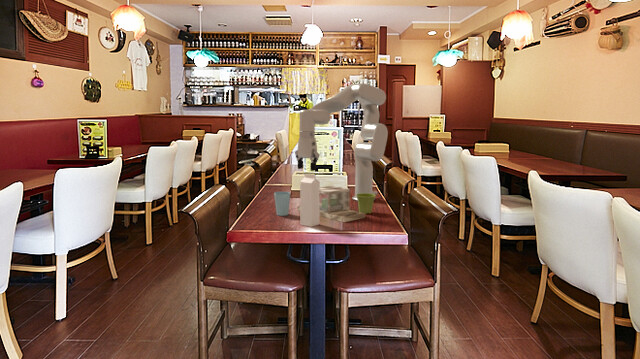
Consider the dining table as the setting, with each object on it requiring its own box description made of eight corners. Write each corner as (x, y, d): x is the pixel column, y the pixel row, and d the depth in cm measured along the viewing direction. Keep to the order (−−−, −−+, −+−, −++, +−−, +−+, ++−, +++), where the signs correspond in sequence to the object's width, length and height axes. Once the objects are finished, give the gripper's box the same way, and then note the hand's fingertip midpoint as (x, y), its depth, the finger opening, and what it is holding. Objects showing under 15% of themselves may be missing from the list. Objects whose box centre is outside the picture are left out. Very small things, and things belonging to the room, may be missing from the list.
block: (329, 207, 226) (329, 197, 225) (336, 209, 222) (336, 199, 222) (321, 209, 223) (321, 199, 222) (328, 211, 219) (328, 200, 218)
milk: (308, 222, 206) (308, 172, 202) (319, 224, 202) (320, 174, 199) (299, 225, 201) (300, 174, 198) (311, 227, 197) (311, 175, 194)
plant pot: (377, 211, 229) (377, 193, 227) (372, 215, 220) (373, 197, 219) (358, 209, 232) (358, 192, 230) (353, 213, 223) (353, 196, 222)
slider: (298, 204, 232) (298, 188, 231) (311, 202, 238) (311, 186, 237) (328, 212, 216) (329, 195, 215) (342, 209, 222) (342, 192, 221)
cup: (285, 217, 215) (285, 194, 214) (271, 215, 218) (270, 193, 217) (293, 213, 222) (293, 192, 220) (279, 212, 225) (279, 191, 224)
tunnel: (297, 210, 229) (297, 186, 227) (318, 206, 238) (318, 183, 237) (344, 222, 206) (344, 195, 204) (365, 217, 215) (365, 191, 213)
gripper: (324, 135, 225) (324, 170, 228) (301, 134, 238) (301, 167, 240) (313, 136, 220) (312, 172, 223) (290, 134, 233) (289, 168, 235)
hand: (306, 169), depth 231 cm, fingers open, 9 cm apart
